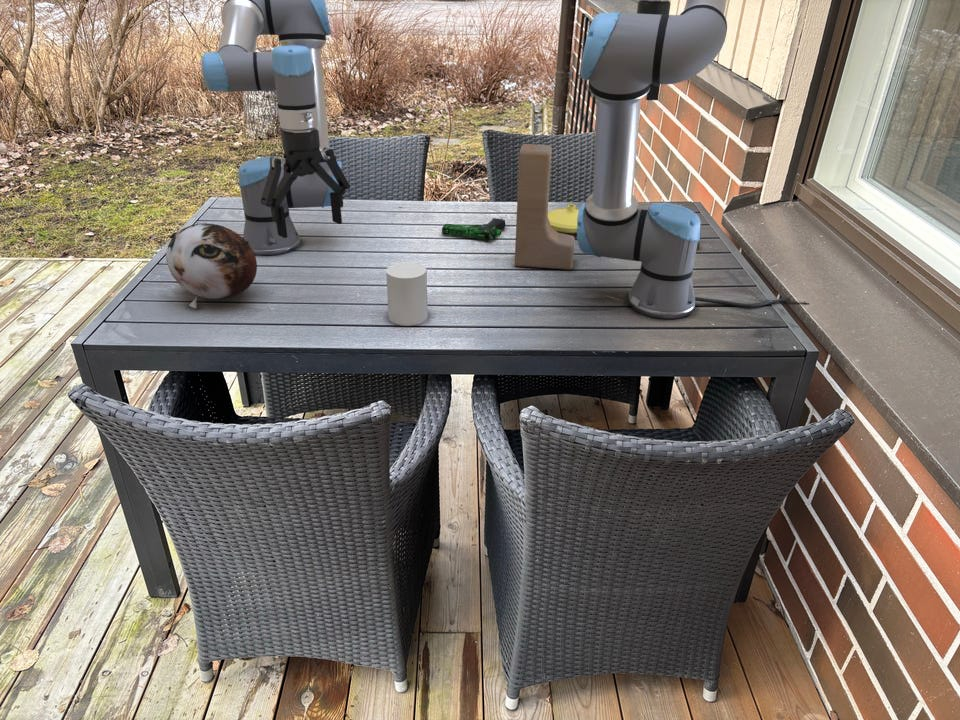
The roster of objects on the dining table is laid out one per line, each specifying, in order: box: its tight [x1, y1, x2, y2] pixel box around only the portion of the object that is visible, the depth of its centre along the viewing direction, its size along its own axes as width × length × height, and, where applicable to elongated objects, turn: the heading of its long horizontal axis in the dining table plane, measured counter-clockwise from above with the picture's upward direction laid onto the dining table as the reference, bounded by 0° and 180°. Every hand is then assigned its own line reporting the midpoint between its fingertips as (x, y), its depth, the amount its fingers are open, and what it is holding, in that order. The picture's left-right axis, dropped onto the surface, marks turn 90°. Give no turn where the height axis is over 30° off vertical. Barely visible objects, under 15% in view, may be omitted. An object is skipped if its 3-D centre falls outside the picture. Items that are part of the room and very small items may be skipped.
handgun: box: [441, 217, 506, 242], centre depth 207 cm, size 16×3×15 cm
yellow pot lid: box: [547, 203, 580, 234], centre depth 209 cm, size 16×16×7 cm
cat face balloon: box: [165, 222, 258, 309], centre depth 165 cm, size 22×18×20 cm
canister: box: [385, 261, 429, 327], centre depth 159 cm, size 9×9×12 cm
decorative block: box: [514, 143, 576, 271], centre depth 181 cm, size 8×15×30 cm, turn 82°
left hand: (310, 229), depth 156 cm, fingers open, 13 cm apart
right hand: (642, 94), depth 178 cm, fingers open, 13 cm apart
